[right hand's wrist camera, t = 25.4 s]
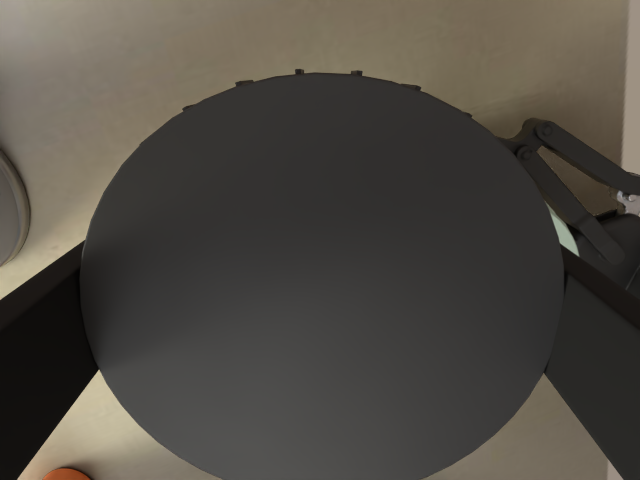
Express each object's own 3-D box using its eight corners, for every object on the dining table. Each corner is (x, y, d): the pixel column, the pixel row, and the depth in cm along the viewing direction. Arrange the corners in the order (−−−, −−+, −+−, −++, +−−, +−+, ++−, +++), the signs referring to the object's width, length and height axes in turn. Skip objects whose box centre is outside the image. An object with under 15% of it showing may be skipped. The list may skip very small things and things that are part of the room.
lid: (297, 483, 15) (293, 554, 13) (36, 255, 12) (-29, 297, 10) (592, 307, 12) (651, 359, 10) (359, -44, 9) (372, -81, 7)
